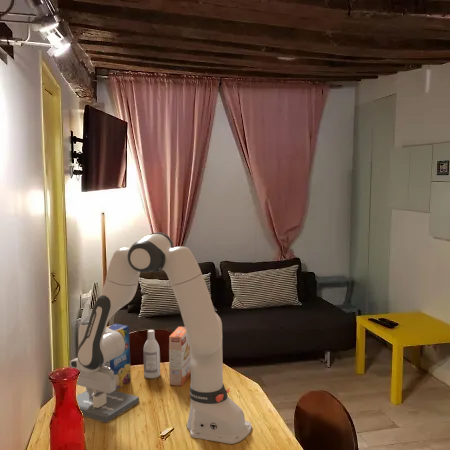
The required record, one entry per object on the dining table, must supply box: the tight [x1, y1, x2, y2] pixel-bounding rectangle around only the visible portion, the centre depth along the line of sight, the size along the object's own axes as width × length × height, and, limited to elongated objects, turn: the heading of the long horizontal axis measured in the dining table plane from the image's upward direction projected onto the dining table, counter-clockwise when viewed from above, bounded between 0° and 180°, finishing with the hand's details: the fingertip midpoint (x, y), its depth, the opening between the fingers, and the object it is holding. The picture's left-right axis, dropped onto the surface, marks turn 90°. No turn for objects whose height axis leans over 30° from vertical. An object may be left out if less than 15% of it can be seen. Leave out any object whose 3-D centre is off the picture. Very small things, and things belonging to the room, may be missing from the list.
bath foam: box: [142, 329, 161, 379], centre depth 210 cm, size 7×7×20 cm
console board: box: [76, 389, 140, 424], centre depth 184 cm, size 22×18×2 cm
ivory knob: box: [93, 392, 107, 408], centre depth 179 cm, size 2×4×5 cm, turn 150°
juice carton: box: [104, 323, 132, 390], centre depth 200 cm, size 12×8×24 cm, turn 150°
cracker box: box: [168, 326, 191, 387], centre depth 206 cm, size 14×6×21 cm, turn 168°
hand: (93, 399), depth 181 cm, fingers closed
